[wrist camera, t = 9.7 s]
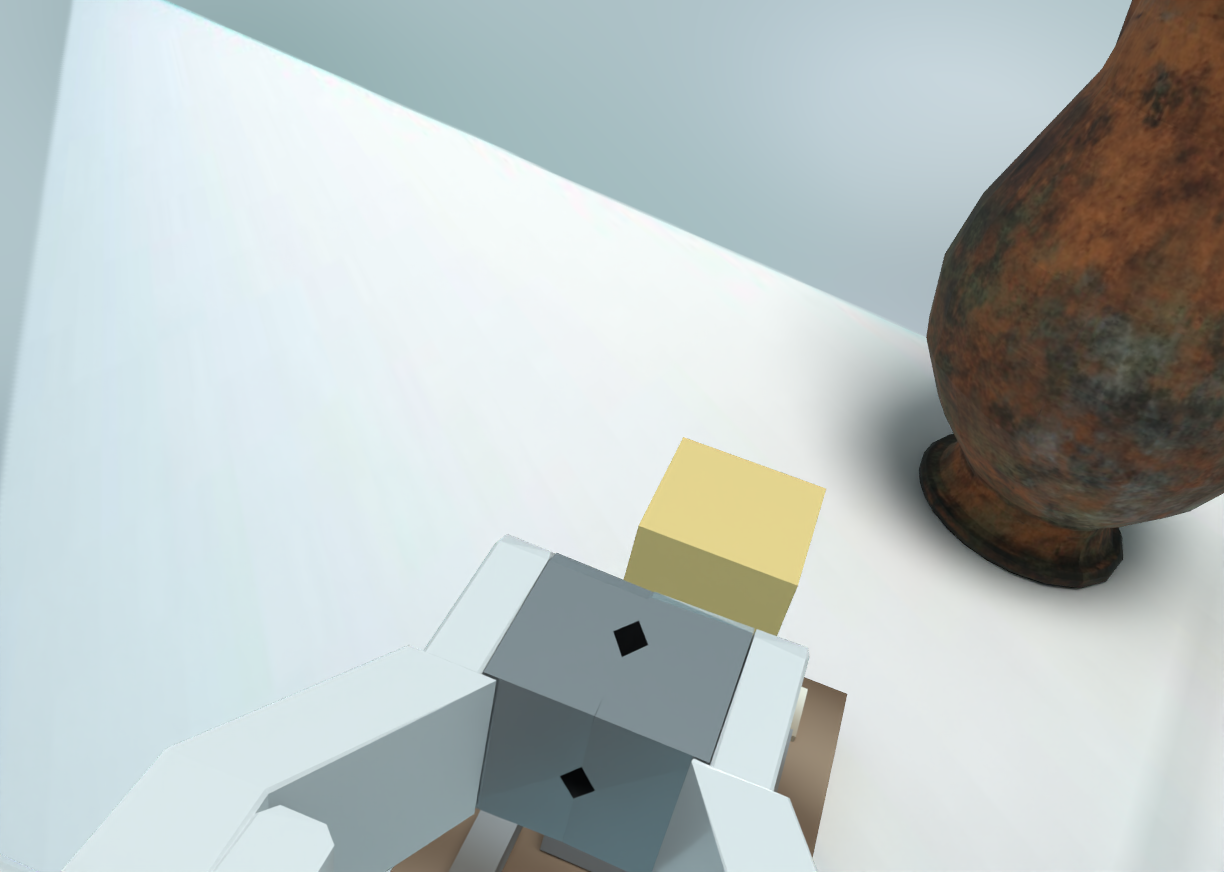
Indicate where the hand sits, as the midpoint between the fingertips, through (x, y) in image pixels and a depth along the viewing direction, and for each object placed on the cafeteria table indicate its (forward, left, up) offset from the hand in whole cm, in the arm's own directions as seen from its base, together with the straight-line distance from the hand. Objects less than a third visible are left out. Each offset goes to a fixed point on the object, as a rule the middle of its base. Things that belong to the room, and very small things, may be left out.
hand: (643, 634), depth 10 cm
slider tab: (-13, -7, -23) cm, 28 cm away
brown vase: (-42, -6, -26) cm, 50 cm away
